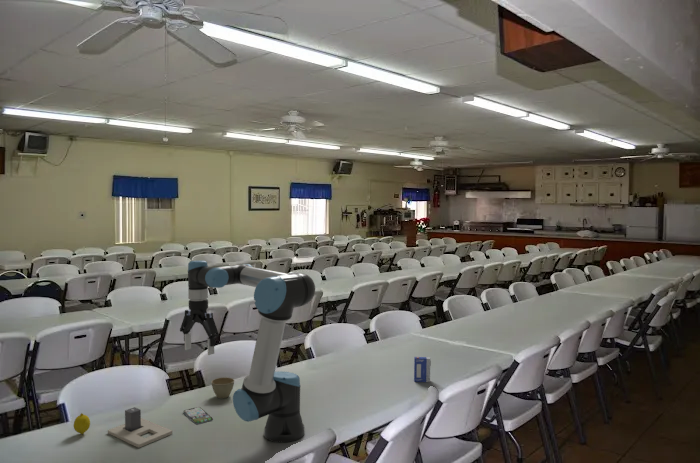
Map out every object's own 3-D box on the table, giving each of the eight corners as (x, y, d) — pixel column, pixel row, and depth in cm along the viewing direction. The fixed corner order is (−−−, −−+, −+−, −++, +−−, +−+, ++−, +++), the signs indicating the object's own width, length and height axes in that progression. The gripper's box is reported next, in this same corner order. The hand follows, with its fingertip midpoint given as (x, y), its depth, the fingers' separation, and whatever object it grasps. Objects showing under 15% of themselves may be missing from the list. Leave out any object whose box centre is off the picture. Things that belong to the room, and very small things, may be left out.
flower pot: (238, 396, 235) (238, 380, 235) (219, 402, 228) (219, 386, 227) (226, 390, 242) (226, 375, 242) (207, 396, 235) (207, 380, 234)
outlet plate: (172, 433, 197) (172, 430, 197) (138, 447, 185) (138, 444, 185) (141, 420, 208) (141, 417, 208) (107, 433, 197) (107, 430, 197)
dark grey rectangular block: (140, 430, 200) (140, 409, 199) (131, 433, 196) (130, 412, 196) (134, 427, 202) (134, 406, 202) (125, 431, 199) (124, 410, 198)
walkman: (414, 381, 257) (414, 357, 256) (414, 379, 259) (414, 356, 259) (430, 382, 256) (430, 358, 255) (429, 380, 259) (430, 356, 258)
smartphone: (196, 423, 205) (182, 410, 217) (196, 426, 205) (182, 413, 217) (214, 419, 209) (199, 406, 221) (214, 422, 209) (199, 409, 221)
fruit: (73, 438, 192) (72, 417, 192) (74, 432, 197) (74, 411, 197) (89, 435, 194) (89, 414, 194) (90, 429, 199) (90, 409, 199)
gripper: (227, 300, 205) (228, 354, 206) (185, 295, 219) (186, 345, 219) (212, 303, 199) (213, 358, 200) (170, 297, 212) (171, 349, 213)
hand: (199, 351), depth 210 cm, fingers open, 13 cm apart
